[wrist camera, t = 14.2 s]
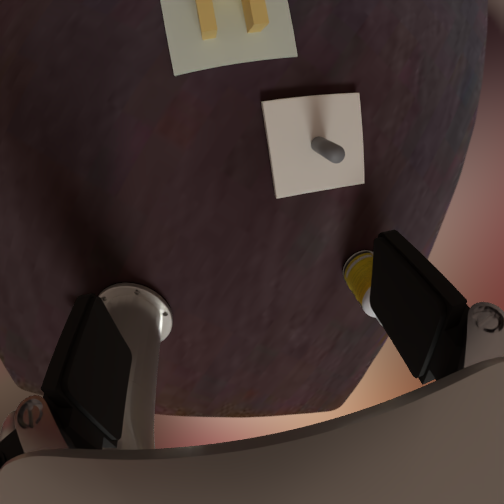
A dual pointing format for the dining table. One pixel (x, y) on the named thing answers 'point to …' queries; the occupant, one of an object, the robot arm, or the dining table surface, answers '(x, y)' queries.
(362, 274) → the pill bottle
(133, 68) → the dining table surface
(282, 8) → the mat
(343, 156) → the stand
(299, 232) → the dining table surface
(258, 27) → the c link
